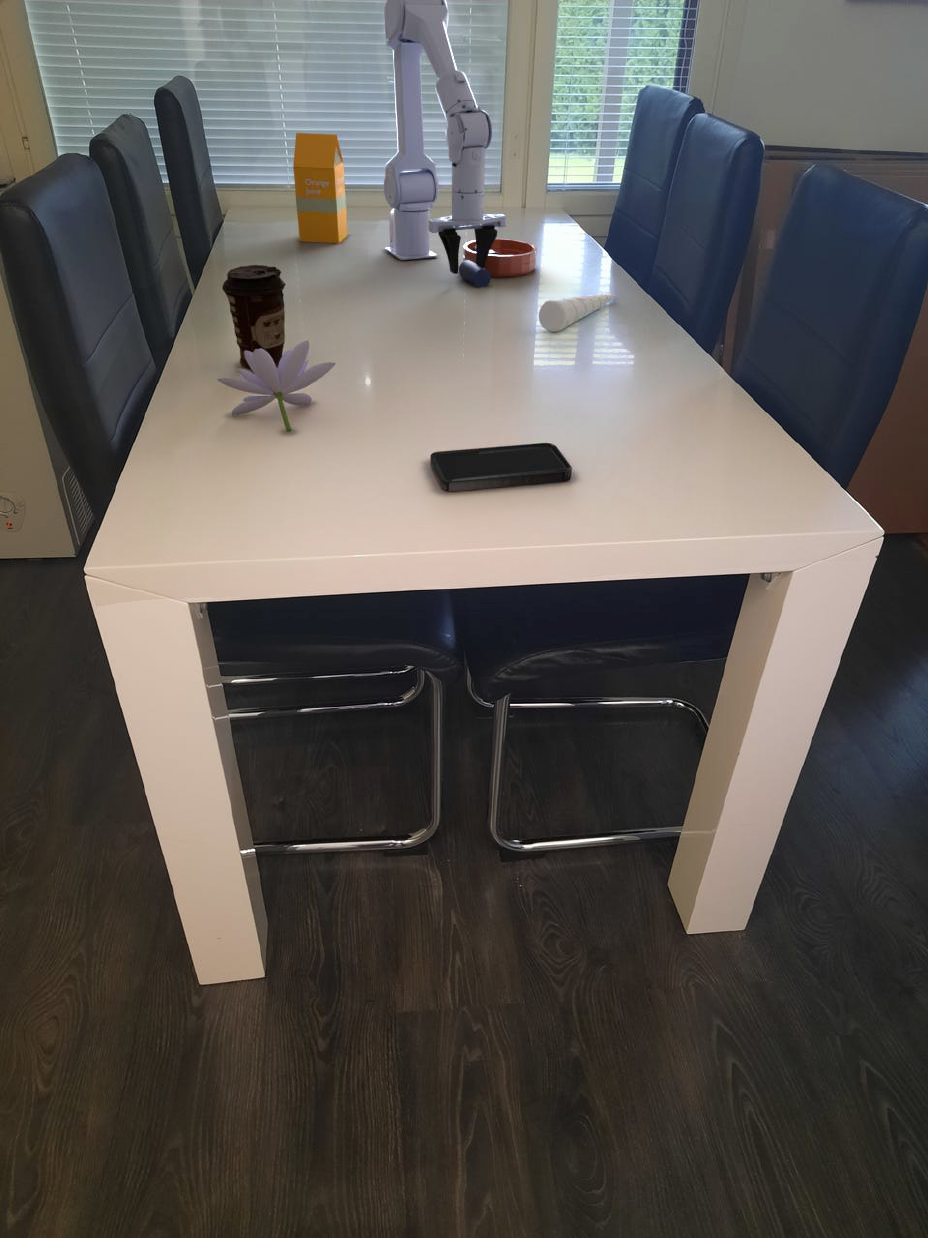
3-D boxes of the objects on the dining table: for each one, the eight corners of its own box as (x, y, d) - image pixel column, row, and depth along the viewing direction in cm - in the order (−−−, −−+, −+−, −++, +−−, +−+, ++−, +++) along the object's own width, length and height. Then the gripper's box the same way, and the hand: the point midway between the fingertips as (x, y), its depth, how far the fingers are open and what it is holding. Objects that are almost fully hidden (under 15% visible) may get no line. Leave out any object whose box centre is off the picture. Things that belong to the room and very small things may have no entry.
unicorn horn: (632, 302, 152) (636, 274, 149) (560, 335, 137) (563, 305, 134) (609, 297, 154) (612, 269, 151) (536, 329, 139) (538, 299, 136)
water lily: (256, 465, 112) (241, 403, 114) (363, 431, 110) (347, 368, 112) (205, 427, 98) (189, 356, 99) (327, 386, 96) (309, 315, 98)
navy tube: (460, 258, 161) (476, 260, 163) (457, 277, 163) (472, 279, 164) (476, 267, 156) (492, 270, 157) (472, 287, 158) (488, 289, 159)
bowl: (452, 262, 172) (452, 241, 170) (515, 256, 177) (516, 236, 174) (481, 280, 162) (482, 258, 159) (547, 274, 166) (549, 252, 164)
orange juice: (309, 233, 190) (301, 130, 178) (348, 235, 189) (342, 132, 178) (299, 241, 184) (289, 135, 172) (339, 243, 183) (332, 137, 171)
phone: (574, 471, 95) (442, 482, 92) (573, 480, 96) (442, 492, 93) (552, 441, 101) (428, 451, 98) (551, 450, 102) (428, 460, 99)
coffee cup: (305, 359, 125) (296, 266, 118) (277, 379, 119) (266, 281, 111) (252, 352, 127) (240, 260, 120) (222, 370, 121) (207, 274, 113)
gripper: (438, 196, 146) (439, 279, 154) (514, 191, 151) (511, 272, 159) (423, 190, 151) (424, 270, 159) (497, 185, 156) (495, 263, 164)
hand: (466, 271), depth 159 cm, fingers open, 5 cm apart
